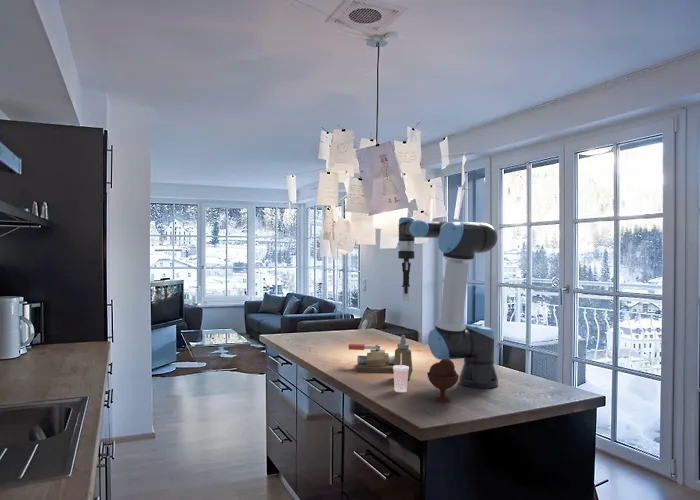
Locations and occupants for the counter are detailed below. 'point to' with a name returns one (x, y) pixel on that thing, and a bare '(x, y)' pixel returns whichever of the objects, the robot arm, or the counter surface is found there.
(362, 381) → the counter surface
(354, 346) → the lever
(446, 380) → the ice cream bowl
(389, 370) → the valve board
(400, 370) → the beverage cup
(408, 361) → the squeeze bottle
